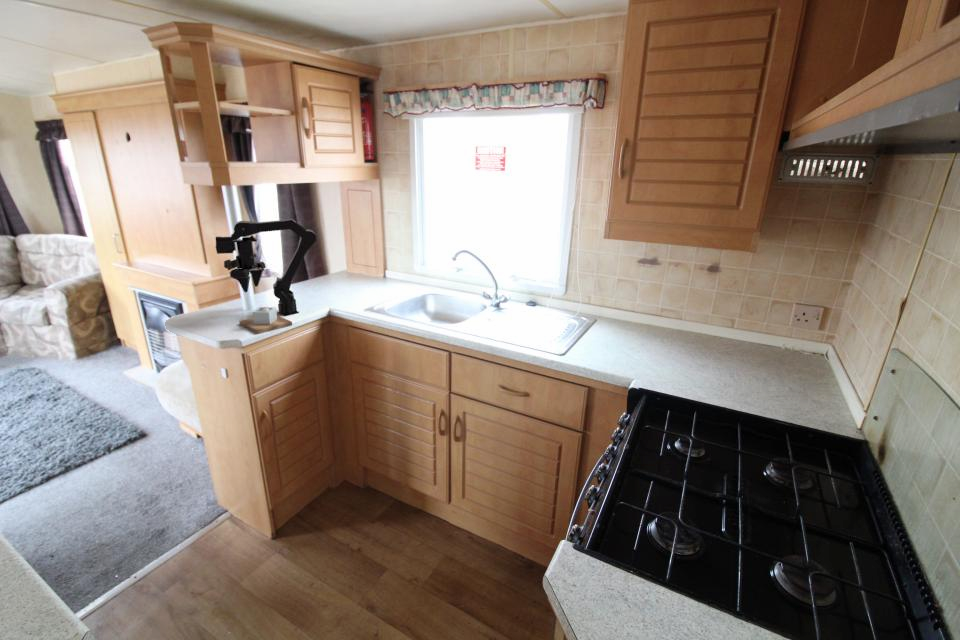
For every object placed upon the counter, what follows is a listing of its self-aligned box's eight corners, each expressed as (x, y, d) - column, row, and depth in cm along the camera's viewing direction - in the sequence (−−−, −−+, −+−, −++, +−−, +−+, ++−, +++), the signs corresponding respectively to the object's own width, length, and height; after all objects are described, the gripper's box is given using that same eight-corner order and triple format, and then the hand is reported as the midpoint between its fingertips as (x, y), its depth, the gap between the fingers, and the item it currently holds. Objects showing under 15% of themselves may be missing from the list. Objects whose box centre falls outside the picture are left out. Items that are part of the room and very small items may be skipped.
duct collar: (261, 318, 188) (259, 307, 186) (277, 318, 188) (275, 307, 186) (253, 323, 181) (252, 311, 180) (270, 324, 181) (268, 312, 180)
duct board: (273, 316, 195) (271, 302, 193) (292, 325, 185) (290, 310, 183) (239, 324, 185) (237, 309, 183) (258, 334, 175) (255, 318, 173)
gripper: (237, 248, 195) (243, 283, 200) (213, 256, 177) (220, 294, 182) (263, 248, 195) (268, 283, 200) (242, 257, 177) (247, 295, 182)
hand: (251, 289), depth 191 cm, fingers open, 9 cm apart
